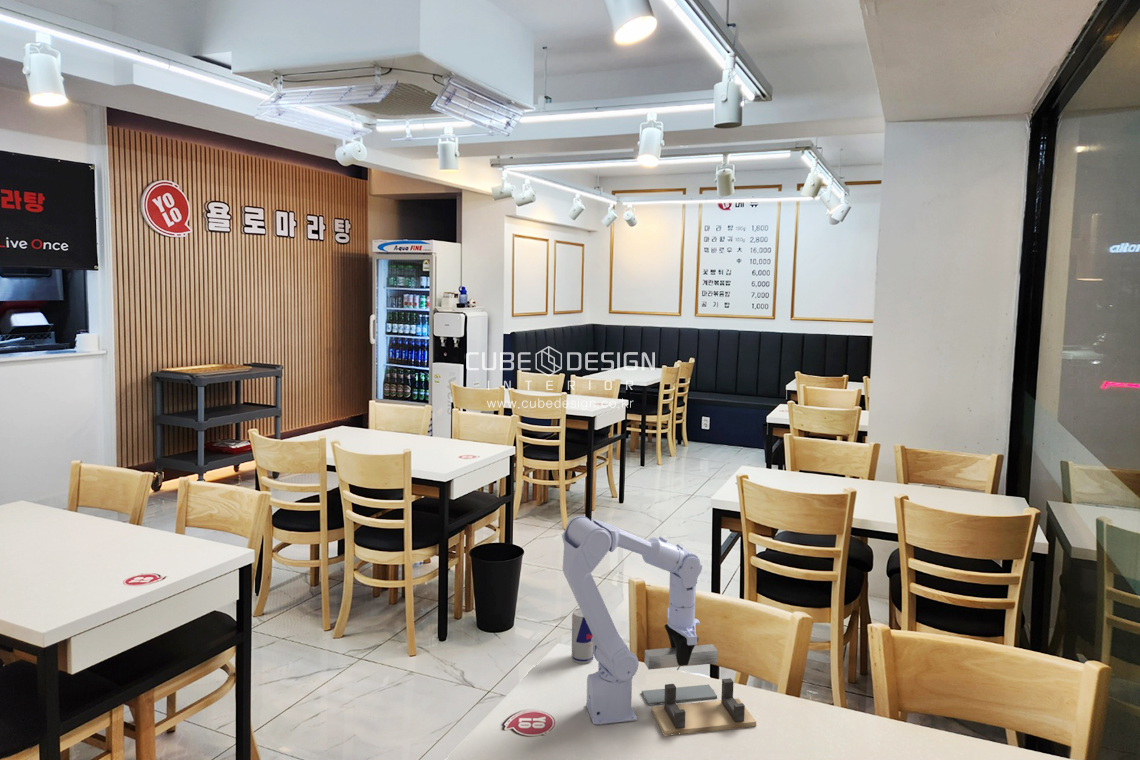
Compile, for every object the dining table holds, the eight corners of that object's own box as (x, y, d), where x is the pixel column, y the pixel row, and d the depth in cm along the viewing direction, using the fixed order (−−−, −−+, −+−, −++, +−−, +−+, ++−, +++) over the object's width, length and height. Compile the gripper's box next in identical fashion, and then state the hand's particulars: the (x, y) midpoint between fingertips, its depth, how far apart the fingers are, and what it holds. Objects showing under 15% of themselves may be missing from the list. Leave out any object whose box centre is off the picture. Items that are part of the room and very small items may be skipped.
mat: (648, 705, 164) (648, 702, 164) (641, 692, 169) (641, 690, 169) (717, 698, 167) (717, 696, 167) (708, 686, 172) (708, 684, 172)
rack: (664, 736, 153) (665, 706, 152) (651, 711, 161) (652, 683, 161) (756, 726, 156) (757, 696, 156) (738, 702, 165) (739, 674, 164)
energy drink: (593, 664, 181) (594, 617, 180) (571, 664, 181) (571, 617, 180) (593, 653, 187) (593, 607, 185) (571, 653, 187) (572, 607, 185)
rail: (648, 669, 164) (648, 656, 164) (644, 662, 167) (644, 650, 166) (717, 663, 167) (717, 650, 167) (712, 656, 170) (712, 644, 169)
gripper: (711, 615, 159) (709, 675, 160) (688, 588, 173) (686, 644, 175) (679, 618, 157) (678, 678, 159) (658, 590, 172) (657, 646, 173)
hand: (680, 660), depth 167 cm, fingers closed on rail, 3 cm apart
